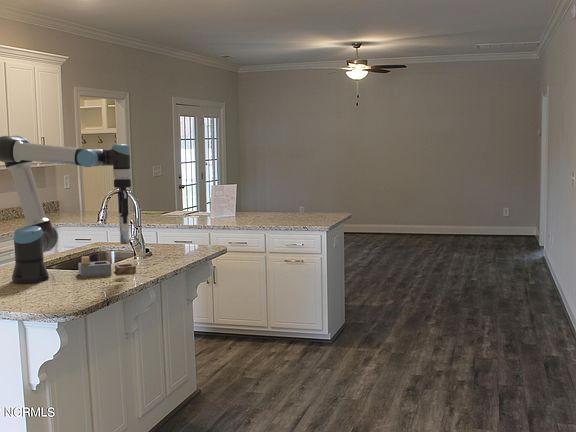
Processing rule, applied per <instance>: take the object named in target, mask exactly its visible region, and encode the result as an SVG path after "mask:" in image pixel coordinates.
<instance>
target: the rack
mask: <svg viewBox="0 0 576 432" xmlns="http://www.w3.org/2000/svg"><path fill="white" fill-rule="evenodd" d="M113 272H114V273H115V274H116V276H117V275H127V274H128V275H129V274H138V272H137V267H136V265H135V264H134V263H122V264H121V263H120V264H115V265H114V271H113Z"/></svg>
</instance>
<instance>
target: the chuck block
mask: <svg viewBox="0 0 576 432" xmlns="http://www.w3.org/2000/svg"><path fill="white" fill-rule="evenodd" d="M77 265H78V275H79V276H80V278H81V279H84V278H97V277H108V276H109V277H110V276H112V274H113V273H112V263H110V262H109V260H102V261H101V260H100V261H98V260H97V261H90V265H82V262H78V264H77Z"/></svg>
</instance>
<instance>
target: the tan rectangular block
mask: <svg viewBox="0 0 576 432" xmlns="http://www.w3.org/2000/svg"><path fill="white" fill-rule="evenodd" d="M90 262H91V260H90V256H88V255H87V256H85V255H84V256H81V263H82V265H90Z"/></svg>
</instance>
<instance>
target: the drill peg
mask: <svg viewBox="0 0 576 432" xmlns="http://www.w3.org/2000/svg"><path fill="white" fill-rule="evenodd" d="M120 215H122V213H119V212H118V219H119V221H118V222H119V223H118V224H119V245H129V244H130V228H129V227H130V226H129V222H128V231H122V220H121V217H120Z"/></svg>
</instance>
